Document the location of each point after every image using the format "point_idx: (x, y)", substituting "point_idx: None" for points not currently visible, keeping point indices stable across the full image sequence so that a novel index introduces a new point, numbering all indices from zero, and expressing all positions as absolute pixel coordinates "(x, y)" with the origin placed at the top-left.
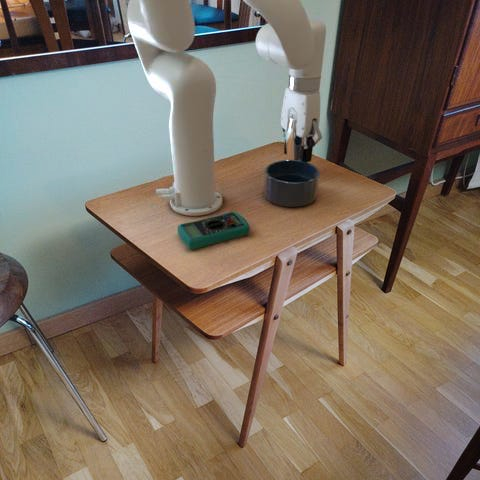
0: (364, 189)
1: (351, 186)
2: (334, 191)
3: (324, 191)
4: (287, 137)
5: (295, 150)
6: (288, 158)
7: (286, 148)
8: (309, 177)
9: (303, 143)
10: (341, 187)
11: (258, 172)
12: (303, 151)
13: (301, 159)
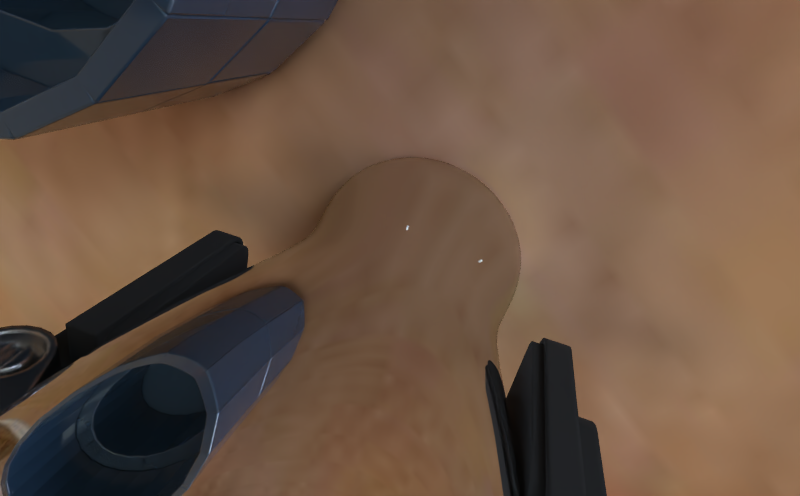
0: (6, 319)
1: (61, 311)
2: (52, 188)
3: (80, 141)
4: (301, 429)
5: (219, 282)
6: (414, 242)
7: (446, 319)
8: (30, 63)
9: (18, 397)
10: (76, 265)
11: (782, 16)
12: (107, 306)
13: (201, 247)
